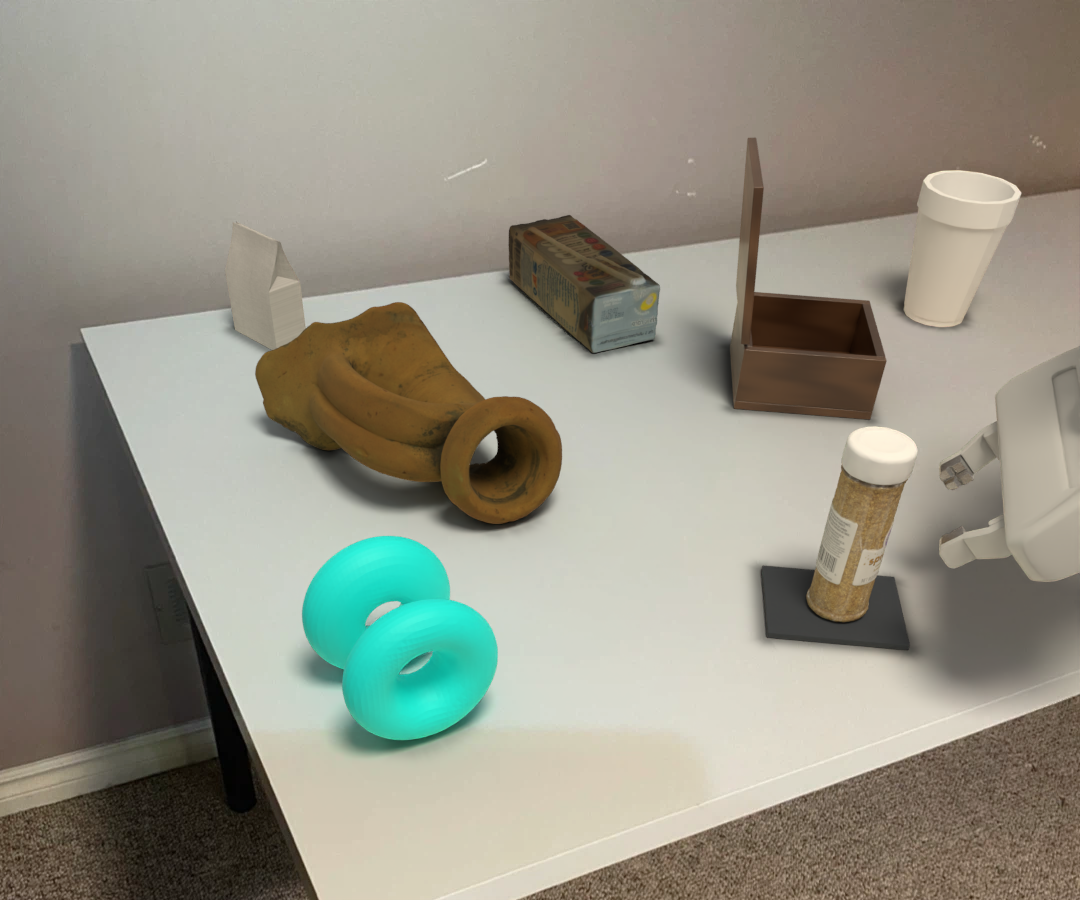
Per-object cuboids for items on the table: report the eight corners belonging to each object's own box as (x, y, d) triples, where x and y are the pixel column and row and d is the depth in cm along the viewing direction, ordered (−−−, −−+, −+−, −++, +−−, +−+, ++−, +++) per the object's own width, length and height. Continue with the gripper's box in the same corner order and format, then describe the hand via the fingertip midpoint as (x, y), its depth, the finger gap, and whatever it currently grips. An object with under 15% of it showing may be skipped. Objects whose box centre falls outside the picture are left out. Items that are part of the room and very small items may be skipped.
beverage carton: (588, 356, 106) (593, 290, 101) (504, 281, 118) (505, 219, 113) (657, 342, 109) (664, 277, 104) (568, 270, 120) (571, 209, 116)
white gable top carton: (277, 352, 104) (262, 248, 97) (235, 330, 107) (217, 226, 100) (307, 340, 106) (294, 237, 99) (265, 318, 109) (249, 216, 102)
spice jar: (872, 626, 77) (926, 461, 67) (808, 623, 77) (854, 458, 67) (861, 587, 80) (911, 424, 71) (800, 584, 80) (842, 421, 71)
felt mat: (892, 581, 82) (894, 576, 81) (908, 650, 76) (910, 645, 76) (761, 570, 82) (762, 565, 82) (766, 637, 76) (767, 632, 76)
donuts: (440, 629, 76) (436, 510, 69) (505, 719, 70) (507, 598, 62) (305, 671, 72) (285, 550, 65) (360, 770, 66) (345, 647, 59)
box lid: (756, 137, 95) (747, 137, 95) (763, 186, 86) (753, 187, 86) (744, 285, 104) (735, 286, 104) (749, 344, 95) (740, 344, 95)
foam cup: (927, 288, 120) (964, 164, 111) (995, 320, 115) (1040, 192, 106) (871, 308, 116) (904, 180, 107) (939, 341, 111) (980, 210, 102)
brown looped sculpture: (468, 304, 96) (593, 371, 80) (440, 445, 102) (552, 533, 86) (265, 268, 86) (363, 337, 71) (248, 427, 92) (334, 522, 77)
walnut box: (855, 357, 108) (869, 300, 104) (870, 419, 99) (886, 360, 95) (729, 347, 108) (739, 290, 104) (733, 409, 100) (744, 349, 95)
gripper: (1118, 291, 69) (920, 405, 78) (1163, 450, 55) (916, 568, 64) (1160, 366, 72) (964, 469, 80) (1213, 537, 58) (969, 640, 66)
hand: (943, 514), depth 72 cm, fingers open, 8 cm apart
